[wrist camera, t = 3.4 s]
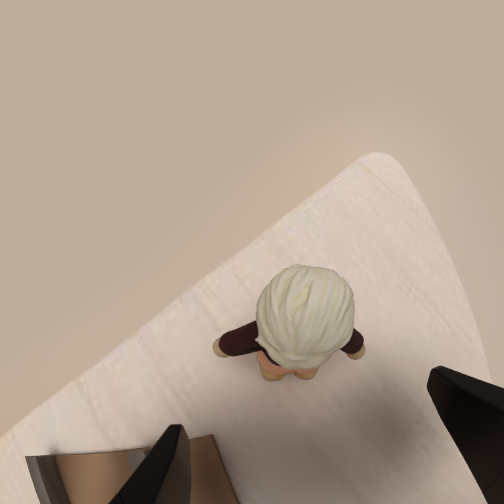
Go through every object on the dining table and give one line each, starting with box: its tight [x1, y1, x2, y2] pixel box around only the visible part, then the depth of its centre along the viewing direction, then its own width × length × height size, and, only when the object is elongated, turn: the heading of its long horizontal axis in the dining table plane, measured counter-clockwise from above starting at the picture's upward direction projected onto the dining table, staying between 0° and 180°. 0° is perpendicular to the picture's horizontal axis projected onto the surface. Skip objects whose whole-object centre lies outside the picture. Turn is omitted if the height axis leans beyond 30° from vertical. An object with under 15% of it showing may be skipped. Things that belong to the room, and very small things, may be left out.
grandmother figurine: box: [213, 264, 365, 381], centre depth 14 cm, size 8×4×13 cm, turn 99°
